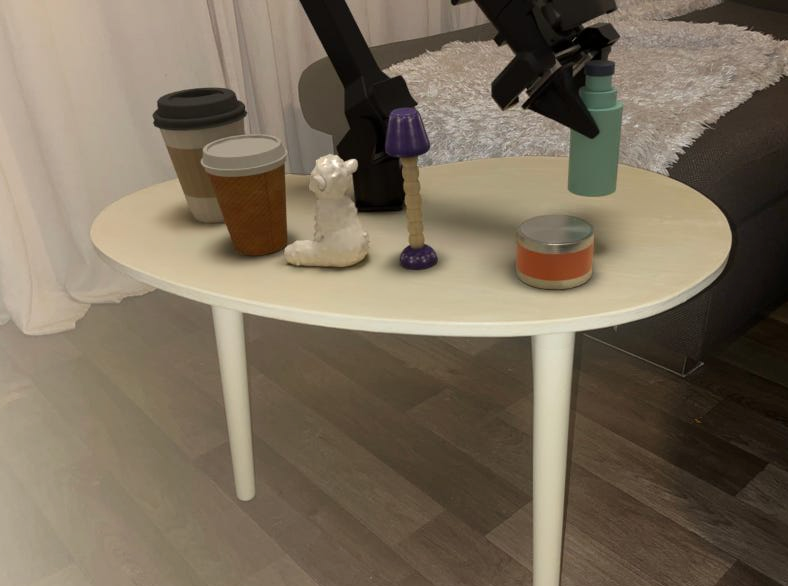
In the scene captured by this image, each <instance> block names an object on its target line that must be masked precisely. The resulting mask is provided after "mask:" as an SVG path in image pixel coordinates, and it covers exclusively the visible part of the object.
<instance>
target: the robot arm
mask: <svg viewBox="0 0 788 586" xmlns="http://www.w3.org/2000/svg"><path fill="white" fill-rule="evenodd" d="M298 1H299V3H300V5H301V7H302V9H303V11H304V14H305V15H306V17H307V18H308V21H309V23H310V24H311V26H312V28H313V30H314V33H315V34H316V36H317V38H318V40H319V42H320V44H321V46H322V49H324V53H326V56H327V57H328V59H329V61H330V63H331V66H332V67H333V69H334V71H335V73H336V75H337V76H338V79H339V81H340V82H341V84H342V87H343V92H344V93H343V94H344V95H343V96H344V97H343V98H344V99H343V101H344V103H343V105H344V106H343V108H344V109H343V111H344V116H345V119H346V122H347V124H348V127H349V129H348V131H347V132H346V133H345V134H344V136H343V137H342V139H340V141H339V142H338V143H337V145H336V147H335V149H336V152H337V156H338V157H340V158H341V159H343V161H344V162H345V161H348V160H351V159H356V160H357V163H358V166H357V170H356V171H355V172H353V173H352V174H351V175H352V176H351V177H352V178H351V179H352V186H353V187H352V188H353V195H354V203H355V207H356V208H357V212H363V211H365V212H366V211H396V210H397V211H401V210H403V209H404V205H405V195H406V193H405V191H404V181H405V180H404V178H403V175H402V169H403V165H402V163H401V157H393V156H390V155H388V154H387V153H386V151H385V143H386V135H387V128H388V121H389V116H390V113H391V112H392V111H393V110H395V109H399V108H415V109H417V108H416V107H417V106H419V105H418V104H419V103H418V102H417V101H416V100H415V98H414V97H413V96H412V94H411V92H410V90H409V88H408V83H407V81H406V79H405V78H404V77H403V75H402V74H400V75H396V76H393V77H390V76H389V75H388V74H386V73H385V72H384V71H383V70H382V69H381V68H380V67H379V65H378V63H377V61H376V59H375V57H374V54H373V53H372V51H371V49H370V47H369V45H368V42H367V41H366V39H365V37H364V35H363V33H362V31H361V29H360V27H359V25H358V23H357V20H356V19H355V17H354V16H353V13H352V11H351V9H350V7H349V5H348V3H347V1H346V0H298ZM473 1H474V3H475V4H476V6H477V7H478V9H480V11H481V12H482V13H483V15H484V16H485V17H486V19H487V20H488V22H489V23H490V24H491V25H492V26H493V28H494V29H495V31H496V32H497V34H496V35H495V36H494V37H493V38H492V40H493V42H494V43H495V45H496V46H497V47H498V48H500V47H503V46H505V45H507V46H508V49H510V50H511V51H512V54H514V57H513V58H512V59H511V60H510V61H509V63H507V65H506V66H505V67H504V69H502V70H501V71H500V72H499V74H498V75H497V76H496V77H495V78H494V79H493V80H492V81H491V83H490V96H491V99H492V100H493V101H494V102H495V104H496V105H497V106H498V108H499V109H500V110H501V112H505V111H507V110H509V109H512V108H514V107H515V106H517V105H518V104H519V103H520V95H521V94H522V93H523V92H524V91H525V93H526V95H527V97H528V98H526V100H525V101H524V102H523V103H522V104H521V107H520V108H522V109H523V110H524V111H526V110H529V111H532V112H534V113H536V114H538V115H541V116H542V117H544V118H547V119H550V120H552V121H554V122H556V123H558V124H560V125H562V126H565V127H566V128H568V129H572V130H574V131H576V132H578V133H580V134H582V135H584V136H586V137H588V138H590V139H594V138H595V137H596V136H597V135H599V133H600V130H599V128H598V126H597V125H596V123H595V121H594V119H593V117H592V116H591V114H590V112H589V111H588V109H587V107H586V106H585V104H584V102H583V101H582V99H581V97H580V96H579V89H580V88H581V87H583V86H585V85H586V75H585V74H584V67H585V62H587V61H592V60H609V55H610V54H611V53H612V47H613V46H614V45H615V44H616V43H617V42H618V41H619V40H620V39H621V35H620V33H619V32H618V31H617V30H616V28H615V27H614V26H613V24H612V23H611V22H602V21H600V22H599V21H598V22H596V23H593V24H591V25H588V26H586V27H585V26H584V24H585V23H588V22H590V21H593V20H594V19H596V18H598V17H601V16H603V15H605V14H606V15H609V14H613V12H616V11H618V5H617V2H616V0H450V4H451V5H452V6H455V7H456V6H459V5H464V4H467V3H471V2H473Z"/></svg>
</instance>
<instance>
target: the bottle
mask: <svg viewBox="0 0 788 586" xmlns="http://www.w3.org/2000/svg"><path fill="white" fill-rule="evenodd" d="M615 71H616V62H615V61H613V60H609V59H608V60H592V61H587V62H585V67H584V74H585V75H586V85H585V86H583V87H581V88H580V89H579V96H580V97H581V99H582V101H583V102H584V104H585V106H586V107H587V109H588V111H589V112H590V114H591V116H592V117H593V119H594V121H595V123H596V125H597V126H598V128H599V130H600V133H599V135H597V136H596V137H595V138H594V139H590V138H588V137H586V136H584V135H582V134H580V133H578V132H576V131H574V130H572V129H570V128H569V129H570V130H569V147H568V149H569V153H568V170H567V171H568V172H567V175H568V176H567V190H568V191H569V193H571V194H573V195H576V196H579V197H585V198H600V197H606V196H610V195H612V194H614V193H615V192H616V191H617V182H618V170H619V160H620V159H619V158H620V147H621V136H622V135H621V134H622V125H623V124H622V122H623V110H624V103H623V102H622V101H620V100H617V97H618V88H617V87H616V86H613V85H612V84H613V76H614V75H615V73H616V72H615Z"/></svg>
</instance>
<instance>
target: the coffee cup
mask: <svg viewBox="0 0 788 586" xmlns="http://www.w3.org/2000/svg"><path fill="white" fill-rule="evenodd" d="M236 94H237V93H236V92H235V91H234V90H233V89H230V88H226V87H196V88H188V89H182V90H176V91H173V92H169V93H166V94H164V95H162V96H160V97H159V98H158V99H157V100H156V103H157V104H156V106H157V109H156V110H155V111H154V112H153V113H152V118H153V122H152V124H153V126H154V128H158V129H159V132H160V133H161V137H162V139H163V142H164V144H165V146H166V147H165V148H166V150H167V152H168V155H169V158H170V160H171V163H172V166H173V168H174V171H175V173H176V176H177V179H178V182H179V184H180V188H181V190H182V192H183V195H184V198H185V200H186V204H187V206H188V207H189V211H190V213H191V214H192V215H193V218H194V220H196V221H198V222H200V223H205V224H208V223H209V224H217V223H218V224H219V223H225V220H224V217H223V215H222V212H221V209H220V206H219V203H218V200H217V198H216V195H215V192H214V189H213V186H212V183H211V180H210V177H209V175H208V172H206V171H205V168H204V167H203V166H202V165H201V159H202V158H203V148H204V147H205V146H206V145H207V144H209V143H211V142H213V141H216V140H219V139H223V138H227V137H232V136H239V135H246V131H245V118H246V117H247V115H248V113H249V112H247V110H246V104H244V102H243V101H241V100H238V97H237V95H236Z"/></svg>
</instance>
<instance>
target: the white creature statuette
mask: <svg viewBox="0 0 788 586" xmlns="http://www.w3.org/2000/svg"><path fill="white" fill-rule="evenodd" d="M357 166H358V163H357V160H356V159H351V160H348V161H345V162H344V161H343V159H341V158H340V157H339V155H338V154H335V155H334V154H333V153H329V154H327V155H323V156H320V157H319V158H318V159H316V160H315V167H314V168H313V169H312V171H311V172H310V179H309V183H308V184H309V185H308V190H309V191H311V192H312V193H314V195H315V197H316V198H317V199H316V200H315V207H314V213H315V215H314V216H313V217H314V222H315V224H314V226H313V228H314V230H315V231H314V233H313V238H314V239H313V241H311V240H310V239H304V240H299V239H297V240H295V241H294V242H293V243H289V244H286V246H285V247H284V258H285V261H286V262H287V263H289V264H291V265H294V266H297V267H299V266H305V267H327V268H329V267H335V268H346V267H351V266H354V265H356V264H359V263H360V262H361V261H363V260H364V259H365V257H366V255H367V254H368V253H369V249H370V248H371V247H370V245H369V244H370V242H371V241H370V234H369V233H368V232H367V230H366V229H365V228H364V223H363V222H362V221H361V219H360V217H359V216H358V211H357V208H356V207H355V201H353V200H352V198H351V197H350V196H349V195H347V193H346V192H347V191H348V188H349V186H350V184H351V179H352V178H351V177H352V176H351V175H352V173H353V172H355V171H356V170H357Z"/></svg>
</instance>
